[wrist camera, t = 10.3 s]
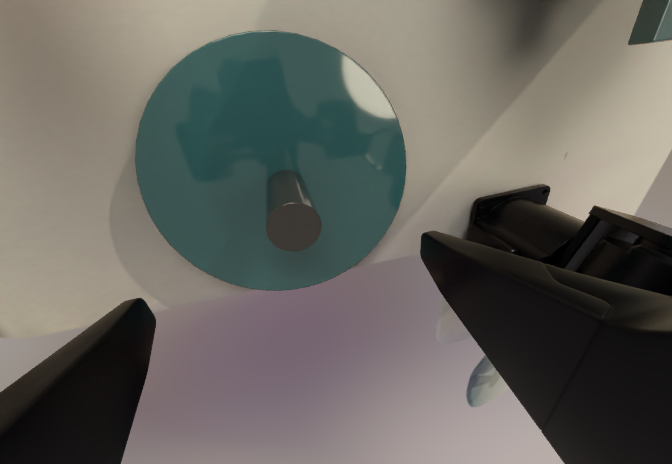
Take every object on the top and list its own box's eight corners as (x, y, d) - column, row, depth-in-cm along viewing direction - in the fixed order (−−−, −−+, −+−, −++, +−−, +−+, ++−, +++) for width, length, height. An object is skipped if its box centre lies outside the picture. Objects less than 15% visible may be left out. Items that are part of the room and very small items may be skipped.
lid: (399, 19, 14) (479, -19, 9) (398, 255, 22) (441, 310, 16) (80, 52, 12) (-65, 28, 7) (203, 301, 20) (180, 381, 14)
